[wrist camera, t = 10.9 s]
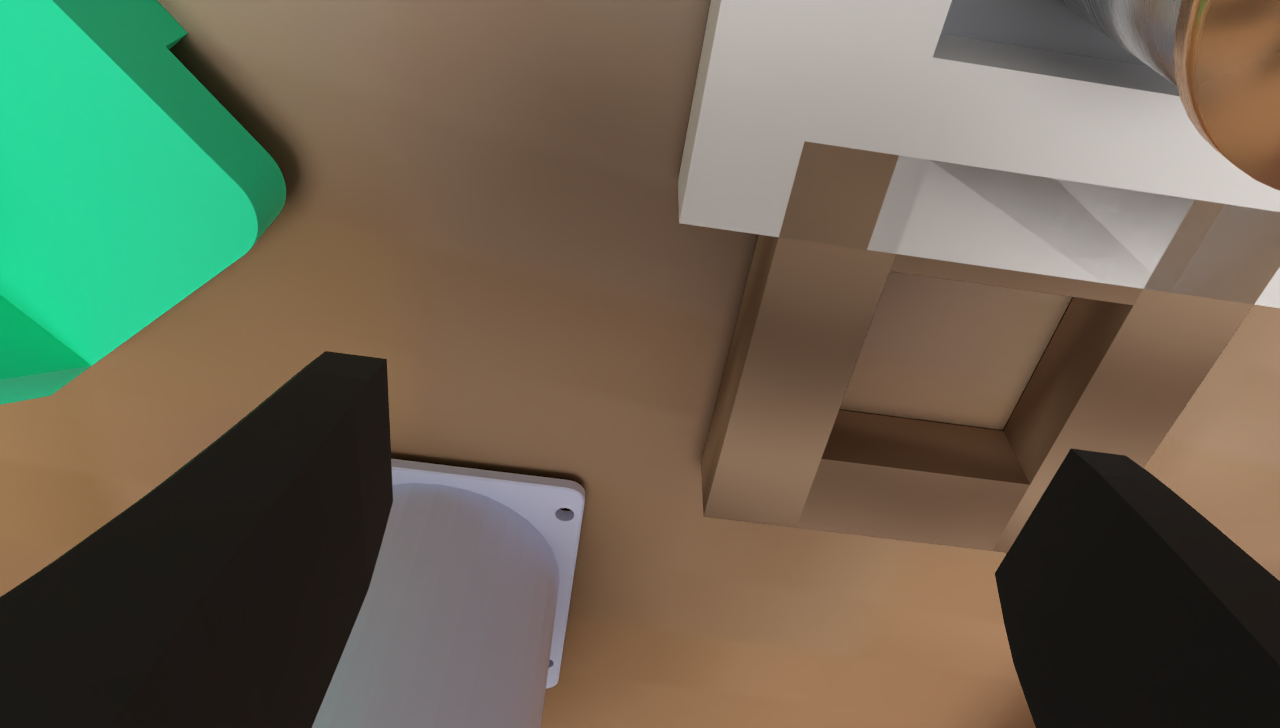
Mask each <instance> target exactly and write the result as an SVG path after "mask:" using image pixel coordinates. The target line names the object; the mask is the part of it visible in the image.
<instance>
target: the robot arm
mask: <svg viewBox="0 0 1280 728" xmlns="http://www.w3.org/2000/svg"><path fill="white" fill-rule="evenodd" d="M584 503H585V490H584V488H583V487H582V486H581V485H580V484H578V483H577V482H574V481H571V480H564V479H556V478H548V477H539V476H531V475H523V474H514V473H506V472H498V471H490V470H481V469H473V468H465V467H456V466H448V465H440V464H431V463H423V462H415V461H407V460H398V459H391V445H390V423H389V402H388V380H387V359H381V358H373V357H365V356H358V355H350V354H342V353H335V352H327V351H326V352H324V353H323V354H321V355H320V356H319V357H317V358H316V359H315V360H313V361H312V362H311V363H310V364H308V365H307V366H306V367H305V368H303V369H302V370H301V371H300V372H298V373H297V374H296V375H295V376H294V377H292V378H291V379H290V380H289V381H288V382H286V383H285V384H284V385H283V386H282V387H280V388H279V389H278V390H277V391H276V392H274V393H273V394H272V395H271V396H270V397H268V398H267V399H266V400H265V401H264V402H262V403H261V404H260V405H259V406H258V407H256V408H255V409H254V410H253V411H252V412H250V413H249V414H248V415H247V416H246V417H244V418H243V419H242V420H241V421H239V422H238V423H237V424H236V425H235V426H233V427H232V428H231V429H230V430H228V431H227V432H226V433H225V434H224V435H222V436H221V437H220V438H219V439H217V440H216V441H215V442H214V443H212V444H211V445H210V446H208V447H207V448H206V449H205V450H203V451H202V452H201V453H200V454H198V455H197V456H196V457H194V458H193V459H192V460H191V461H189V462H188V463H187V464H185V465H184V466H183V467H182V468H180V469H179V470H178V471H177V472H175V473H174V474H173V475H171V476H170V477H169V478H168V479H166V480H165V481H164V482H163V483H161V484H160V485H159V486H157V487H156V488H155V489H153V490H152V491H151V492H150V493H148V494H147V495H146V496H144V497H143V498H142V499H140V500H139V501H138V502H136V503H135V504H133V505H132V506H131V507H129V508H128V509H126V510H125V511H124V512H122V513H121V514H119V515H118V516H117V517H115V518H114V519H112V520H111V521H110V522H108V523H107V524H106V525H104V526H103V527H101V528H100V529H99V530H97V531H96V532H94V533H93V534H92V535H90V536H89V537H87V538H86V539H85V540H83V541H82V542H80V543H79V544H78V545H76V546H75V547H73V548H72V549H71V550H69V551H68V552H66V553H65V554H64V555H62V556H61V557H59V558H58V559H57V560H55V561H54V562H52V563H51V564H49V565H48V566H46V567H45V568H44V569H42V570H41V571H39V572H38V573H36V574H35V575H33V576H32V577H30V578H29V579H27V580H26V581H24V582H23V583H21V584H20V585H18V586H17V587H15V588H14V589H12V590H11V591H9V592H8V593H6V594H5V595H3V596H2V597H0V728H541V722H542V715H543V707H544V699H545V691H546V689H548V688H551V687H553V686H555V685H556V684H557V683H558V680H559V673H560V666H561V660H562V653H563V646H564V639H565V632H566V626H567V619H568V612H569V605H570V598H571V592H572V585H573V578H574V571H575V564H576V558H577V551H578V544H579V537H580V530H581V524H582V517H583V510H584ZM560 508H568V509H570V511H564V510H561V509H560ZM995 577H996V582H997V587H998V592H999V598H1000V603H1001V608H1002V614H1003V619H1004V624H1005V628H1006V632H1007V637H1008V641H1009V645H1010V650H1011V654H1012V658H1013V663H1014V666H1015V669H1016V672H1017V675H1018V678H1019V680H1020V683H1021V686H1022V689H1023V692H1024V695H1025V698H1026V701H1027V704H1028V706H1029V709H1030V712H1031V715H1032V718H1033V721H1034V723H1035V726H1036V728H1280V581H1279V580H1277V579H1276V578H1275V577H1274V576H1273V575H1272V574H1270V573H1269V572H1268V571H1267V570H1266V569H1264V568H1263V567H1262V566H1261V565H1260V564H1259V563H1257V562H1256V561H1255V560H1254V559H1253V558H1252V557H1250V556H1249V555H1248V554H1247V553H1246V552H1244V551H1243V550H1242V549H1241V548H1240V547H1239V546H1237V545H1236V544H1235V543H1234V542H1233V541H1232V540H1230V539H1229V538H1228V537H1227V536H1226V535H1224V534H1223V533H1222V532H1221V531H1220V530H1219V529H1217V528H1216V527H1215V526H1214V525H1213V524H1212V523H1210V522H1209V521H1208V520H1207V519H1206V518H1204V517H1203V516H1202V515H1201V514H1200V513H1198V512H1197V511H1196V510H1195V509H1194V508H1192V507H1191V506H1190V505H1189V504H1188V503H1186V502H1185V501H1184V500H1183V499H1182V498H1180V497H1179V496H1178V495H1177V494H1176V493H1174V492H1173V491H1172V490H1171V489H1169V488H1168V487H1167V486H1166V485H1164V484H1163V483H1162V482H1161V481H1159V480H1158V479H1157V478H1155V477H1154V476H1153V475H1152V474H1150V473H1149V472H1148V471H1146V470H1145V469H1144V468H1142V467H1141V466H1140V465H1138V464H1137V463H1135V462H1134V461H1133V460H1131V459H1130V458H1129V457H1127V456H1125V455H1118V454H1110V453H1102V452H1094V451H1087V450H1079V449H1070V451H1069V452H1068V454H1067V456H1066V457H1065V459H1064V460H1063V462H1062V464H1061V465H1060V467H1059V469H1058V470H1057V472H1056V474H1055V475H1054V477H1053V479H1052V480H1051V482H1050V484H1049V485H1048V487H1047V488H1046V490H1045V492H1044V493H1043V495H1042V497H1041V498H1040V500H1039V502H1038V503H1037V505H1036V507H1035V508H1034V510H1033V512H1032V513H1031V515H1030V516H1029V518H1028V520H1027V521H1026V523H1025V525H1024V526H1023V528H1022V530H1021V531H1020V533H1019V535H1018V536H1017V538H1016V540H1015V541H1014V543H1013V544H1012V546H1011V548H1010V549H1009V551H1008V553H1007V554H1006V556H1005V558H1004V559H1003V561H1002V563H1001V564H1000V566H999V568H998V569H997V571H996V572H995Z"/></svg>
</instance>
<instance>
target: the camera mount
mask: <svg viewBox="0 0 1280 728" xmlns="http://www.w3.org/2000/svg"><path fill="white" fill-rule="evenodd" d="M186 34H187V32H186V31H185V30H184V29H183V28H182V27H181V26H180V25H179V23H178V22H177V21H176V20H175V19H174V18H173V17H172V16H171V15H170V14H169V13H168V12H167V11H166V10H165V9H164V8H163V6H162V5H161V4H160V3H159V2H158V1H157V0H0V405H1V404H6V403H12V402H18V401H23V400H29V399H34V398H40V397H45V396H51V395H52V394H54V393H55V392H56V391H58V390H59V389H61V388H62V387H63V386H65V385H66V384H67V383H69V382H70V381H72V380H73V379H74V378H76V377H77V376H78V375H80V374H81V373H83V372H84V371H85V370H87V369H88V368H89V367H91V366H92V365H94V364H95V363H96V362H98V361H99V360H100V359H102V358H103V357H105V356H106V355H107V354H109V353H110V352H111V351H113V350H114V349H116V348H117V347H118V346H120V345H121V344H122V343H124V342H125V341H127V340H128V339H129V338H131V337H132V336H133V335H135V334H136V333H138V332H139V331H140V330H142V329H143V328H144V327H146V326H147V325H149V324H150V323H151V322H153V321H154V320H155V319H157V318H158V317H160V316H161V315H162V314H164V313H165V312H166V311H168V310H169V309H171V308H172V307H173V306H175V305H176V304H177V303H179V302H180V301H182V300H183V299H184V298H186V297H187V296H188V295H190V294H191V293H193V292H194V291H195V290H197V289H198V288H199V287H201V286H202V285H204V284H205V283H206V282H208V281H209V280H210V279H212V278H213V277H215V276H216V275H217V274H219V273H220V272H221V271H223V270H224V269H226V268H227V267H228V266H230V265H231V264H232V263H234V262H235V261H237V260H238V259H239V258H241V257H242V256H243V255H245V254H246V253H247V252H248V251H249V250H250V249H251V248H252V247H253V245H254V244H255V243H256V242H257V241H258V239H259V238H260V237H261V236H262V235H263V233H264V232H265V231H266V230H267V229H268V227H269V226H270V225H271V224H272V223H273V221H274V220H275V219H276V218H277V217H278V215H279V214H280V213H281V211H282V209H283V207H284V204H285V200H286V185H285V181H284V177H283V175H282V172H281V170H280V168H279V167H278V165H277V163H276V162H275V161H274V159H273V158H272V157H271V156H270V154H269V153H268V152H267V151H266V150H265V149H264V148H263V147H262V146H261V145H260V144H259V143H258V142H257V141H256V140H255V139H254V138H253V137H252V136H251V135H250V134H249V133H248V131H247V130H246V129H245V128H244V127H243V126H242V125H241V124H240V123H239V122H238V121H237V120H236V119H235V118H234V117H233V116H232V115H231V114H230V113H229V112H228V111H227V110H226V109H225V108H224V107H223V106H222V105H221V103H220V102H219V101H218V100H217V99H216V98H215V97H214V96H213V95H212V94H211V93H210V92H209V91H208V90H207V89H206V88H205V87H204V86H203V85H202V84H201V83H200V82H199V81H198V80H197V79H196V78H195V76H194V75H193V74H192V73H191V72H190V71H189V70H188V69H187V68H186V67H185V66H184V65H183V64H182V63H181V62H180V61H179V60H178V59H177V58H176V57H175V56H174V55H173V54H172V53H171V52H170V51H169V50H170V49H171V48H172V47H173V46H174V45H175V44H176V43H177V42H178V41H180V40H181V39H182V38H183V37H184V36H185V35H186Z"/></svg>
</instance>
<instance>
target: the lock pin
mask: <svg viewBox="0 0 1280 728" xmlns="http://www.w3.org/2000/svg"><path fill="white" fill-rule="evenodd" d="M1058 1H1060V2H1061V3H1063V4H1064V5H1065V6H1067V7H1068V8H1069V9H1071V10H1072V11H1074V12H1075V13H1076V14H1078V15H1079V16H1080V17H1082V18H1083V19H1085V20H1086V21H1087V22H1089V23H1090V24H1091V25H1093V26H1094V27H1095V28H1097V29H1098V30H1100V31H1101V32H1102V33H1104V34H1105V35H1106V36H1108V37H1109V38H1111V39H1112V40H1113V41H1115V42H1116V43H1117V44H1119V45H1120V46H1122V47H1123V48H1124V49H1126V50H1127V51H1128V52H1130V53H1131V54H1133V55H1134V56H1135V57H1137V58H1138V59H1139V60H1141V61H1142V62H1143V63H1145V64H1146V65H1148V66H1149V67H1150V68H1152V69H1153V70H1154V71H1156V72H1157V73H1159V74H1160V75H1161V76H1163V77H1164V78H1165V79H1167V80H1168V81H1170V82H1171V83H1172V84H1174V85H1175V86H1176V87H1178V91H1179V95H1180V99H1181V102H1182V104H1183V106H1184V108H1185V111H1186V113H1187V115H1188V118H1189V119H1190V121H1191V122H1192V124H1193V125H1194V127H1195V128H1196V130H1197V131H1198V132H1199V134H1200V135H1201V136H1202V137H1203V138H1204V139H1205V140H1206V141H1207V142H1208V143H1209V144H1210V145H1211V146H1212V147H1213V148H1214V149H1215V150H1216V151H1217V152H1219V153H1220V154H1221V155H1222V156H1224V157H1225V158H1226V159H1227V160H1229V161H1230V162H1231V163H1232V164H1234V165H1235V166H1236V167H1237V168H1239V169H1240V170H1242V171H1243V172H1244V173H1246V174H1247V175H1249V176H1250V177H1252V178H1253V179H1255V180H1256V181H1258V182H1261V183H1263V184H1265V185H1267V186H1269V187H1272V188H1274V189H1276V190H1280V0H1058Z"/></svg>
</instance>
